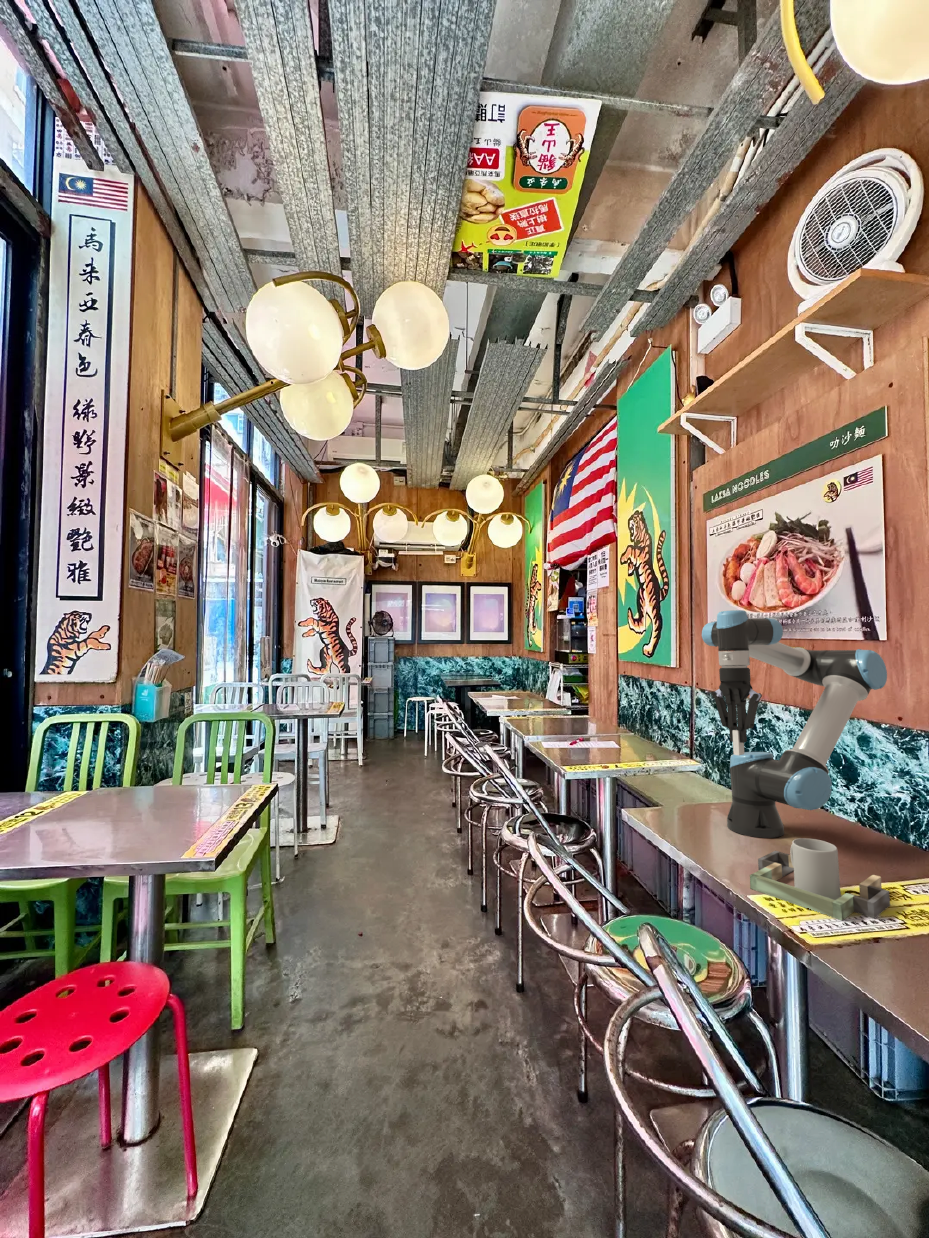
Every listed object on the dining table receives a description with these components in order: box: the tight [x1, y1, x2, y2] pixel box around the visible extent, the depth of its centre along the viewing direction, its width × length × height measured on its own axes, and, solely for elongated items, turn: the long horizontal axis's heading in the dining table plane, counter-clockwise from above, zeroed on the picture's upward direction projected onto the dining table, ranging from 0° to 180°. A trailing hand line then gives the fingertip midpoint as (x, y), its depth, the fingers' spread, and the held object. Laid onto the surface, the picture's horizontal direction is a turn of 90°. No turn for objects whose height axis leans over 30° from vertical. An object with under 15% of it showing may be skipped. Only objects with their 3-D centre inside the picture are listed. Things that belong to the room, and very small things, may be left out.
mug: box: [789, 837, 842, 900], centre depth 117 cm, size 12×8×11 cm
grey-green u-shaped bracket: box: [749, 850, 891, 921], centre depth 118 cm, size 22×25×3 cm
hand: (739, 754), depth 141 cm, fingers closed
